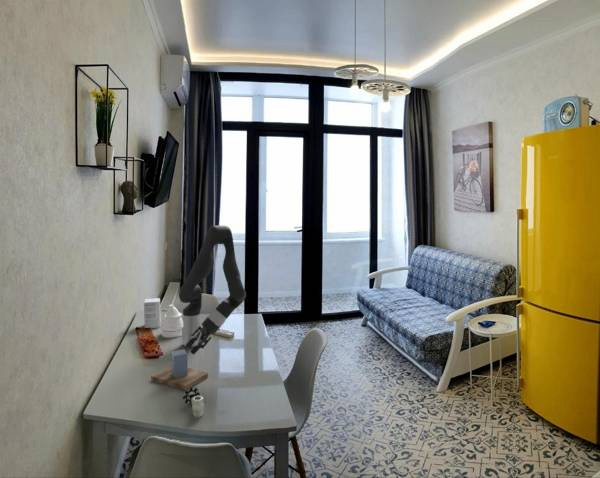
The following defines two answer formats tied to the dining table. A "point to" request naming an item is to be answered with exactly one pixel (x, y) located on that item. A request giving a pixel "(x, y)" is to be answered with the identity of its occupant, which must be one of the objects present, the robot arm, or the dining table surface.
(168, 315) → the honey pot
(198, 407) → the valve
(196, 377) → the post plate
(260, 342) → the dining table surface
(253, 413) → the dining table surface
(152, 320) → the supplement box
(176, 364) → the block
